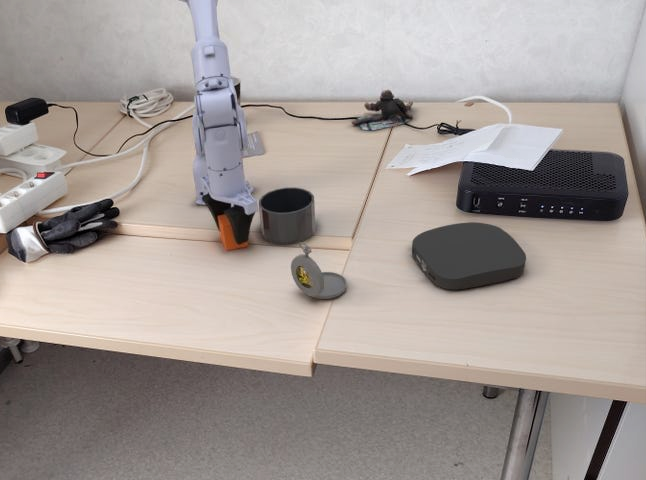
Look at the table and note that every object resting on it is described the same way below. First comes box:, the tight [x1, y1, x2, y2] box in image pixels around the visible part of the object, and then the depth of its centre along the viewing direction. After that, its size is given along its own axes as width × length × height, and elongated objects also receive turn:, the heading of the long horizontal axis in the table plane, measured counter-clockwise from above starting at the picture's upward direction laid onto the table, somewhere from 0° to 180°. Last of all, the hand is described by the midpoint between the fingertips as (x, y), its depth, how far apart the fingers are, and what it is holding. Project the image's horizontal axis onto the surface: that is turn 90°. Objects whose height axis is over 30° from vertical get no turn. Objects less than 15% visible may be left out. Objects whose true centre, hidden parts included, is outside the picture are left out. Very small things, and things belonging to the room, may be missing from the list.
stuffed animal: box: [351, 89, 414, 131], centre depth 154 cm, size 12×10×12 cm
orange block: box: [218, 214, 249, 252], centre depth 119 cm, size 4×4×5 cm
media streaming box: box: [411, 221, 527, 290], centre depth 106 cm, size 15×15×3 cm
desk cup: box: [258, 187, 316, 246], centre depth 120 cm, size 10×10×6 cm
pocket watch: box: [290, 241, 348, 300], centre depth 103 cm, size 8×8×10 cm
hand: (233, 236), depth 120 cm, fingers closed on orange block, 5 cm apart
